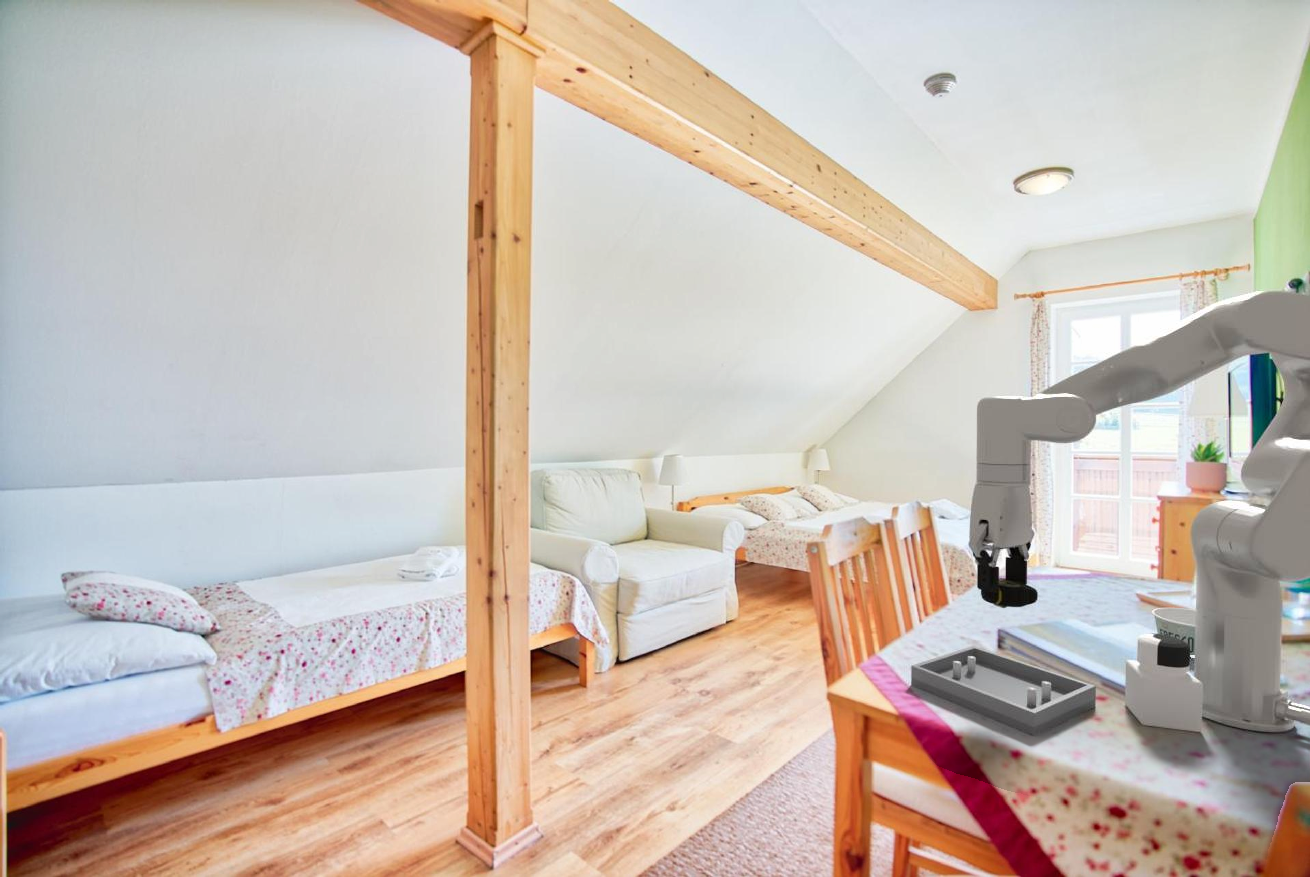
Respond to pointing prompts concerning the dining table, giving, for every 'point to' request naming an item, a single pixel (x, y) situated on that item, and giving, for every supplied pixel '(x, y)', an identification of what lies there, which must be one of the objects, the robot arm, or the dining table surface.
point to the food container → (1177, 624)
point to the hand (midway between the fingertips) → (1002, 586)
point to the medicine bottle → (1164, 684)
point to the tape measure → (1011, 594)
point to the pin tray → (1004, 688)
